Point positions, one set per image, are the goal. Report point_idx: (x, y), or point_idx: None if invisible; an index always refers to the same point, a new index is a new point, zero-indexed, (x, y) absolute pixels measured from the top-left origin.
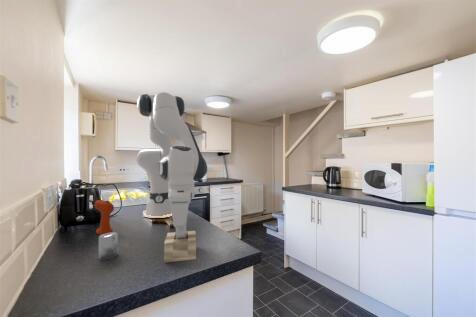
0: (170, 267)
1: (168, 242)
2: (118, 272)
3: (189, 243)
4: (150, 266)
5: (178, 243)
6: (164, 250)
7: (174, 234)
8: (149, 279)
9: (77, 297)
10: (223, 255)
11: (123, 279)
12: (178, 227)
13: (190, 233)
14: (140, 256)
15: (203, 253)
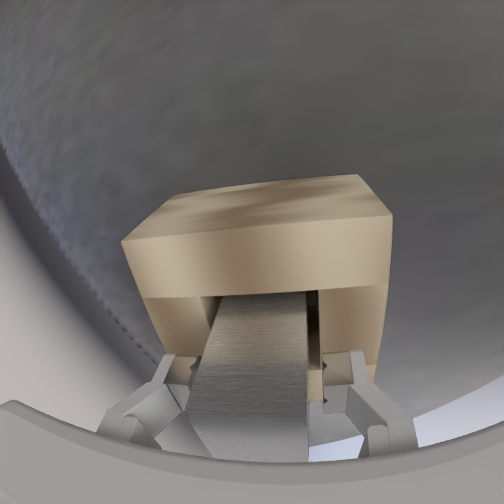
0: None
1: (144, 268)
2: (97, 19)
3: None
4: (137, 136)
5: (158, 322)
6: (145, 222)
7: (324, 286)
8: (57, 180)
9: (4, 23)
10: None
11: (53, 79)
12: (122, 409)
13: (321, 380)
14: (260, 26)
15: None
